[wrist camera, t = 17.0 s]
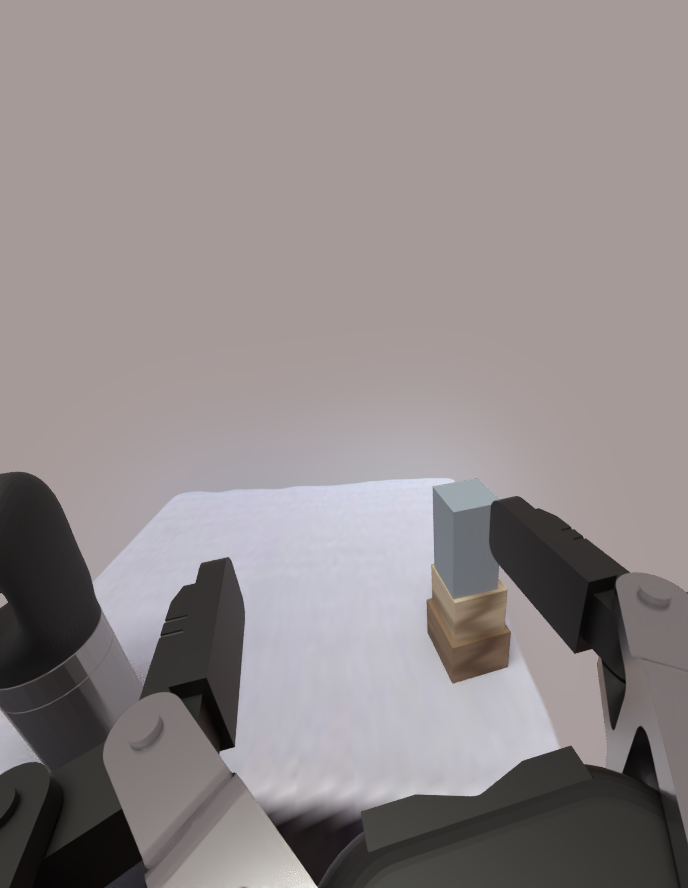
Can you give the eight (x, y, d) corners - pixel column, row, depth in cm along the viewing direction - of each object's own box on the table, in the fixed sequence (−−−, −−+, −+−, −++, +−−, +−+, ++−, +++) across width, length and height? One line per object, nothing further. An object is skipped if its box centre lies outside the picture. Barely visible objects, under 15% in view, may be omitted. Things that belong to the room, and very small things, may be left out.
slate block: (453, 599, 38) (453, 512, 34) (434, 567, 43) (432, 486, 39) (497, 589, 39) (503, 502, 35) (474, 558, 43) (476, 478, 39)
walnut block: (452, 683, 42) (452, 648, 40) (427, 633, 48) (426, 599, 46) (507, 667, 43) (510, 631, 41) (476, 619, 49) (477, 586, 47)
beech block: (454, 643, 40) (454, 603, 38) (432, 601, 46) (431, 564, 43) (504, 629, 41) (507, 589, 39) (476, 590, 47) (478, 553, 44)
